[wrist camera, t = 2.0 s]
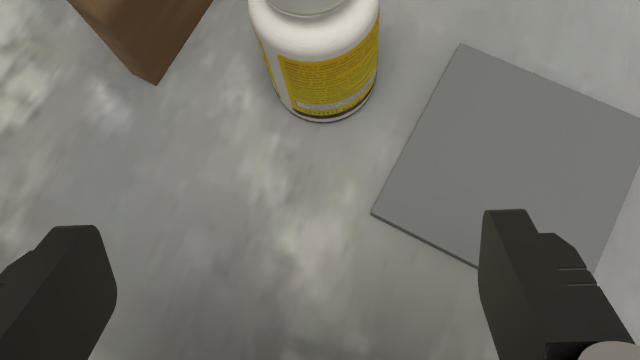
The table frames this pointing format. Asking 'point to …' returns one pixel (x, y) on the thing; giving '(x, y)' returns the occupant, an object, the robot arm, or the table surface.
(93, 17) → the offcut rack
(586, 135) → the charcoal pad
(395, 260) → the table surface
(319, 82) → the supplement bottle
